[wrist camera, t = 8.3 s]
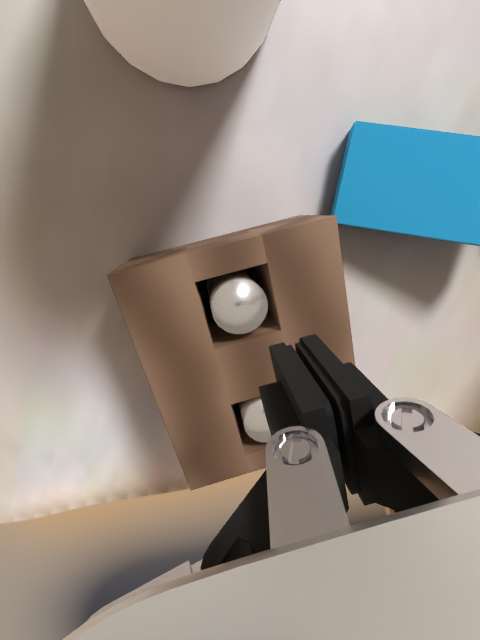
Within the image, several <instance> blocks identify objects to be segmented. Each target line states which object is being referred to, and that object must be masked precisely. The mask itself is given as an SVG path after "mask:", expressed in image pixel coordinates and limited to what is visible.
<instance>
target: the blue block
mask: <svg viewBox="0 0 480 640" xmlns="http://www.w3.org/2000/svg"><path fill="white" fill-rule="evenodd" d="M331 215H336V216H337V224H339V225H346V226H352V227H359V228H365V229H372V230H378V231H385V232H391V233H398V234H404V235H411V236H418V237H424V238H431V239H437V240H444V241H450V242H457V243H463V244H470V245H476V246H480V136H472V135H464V134H456V133H448V132H440V131H432V130H424V129H416V128H408V127H400V126H392V125H384V124H376V123H368V122H360V121H356V122H355V123H354V125H353V126H352V128H351V129H350V131H349V134H348V139H347V143H346V148H345V152H344V157H343V161H342V166H341V170H340V175H339V179H338V184H337V188H336V193H335V197H334V202H333V206H332V211H331Z"/></svg>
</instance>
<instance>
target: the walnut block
mask: <svg viewBox="0 0 480 640" xmlns="http://www.w3.org/2000/svg"><path fill="white" fill-rule="evenodd" d="M250 267H252V269H253V274H254V278H255V282H256V283H257V284H258V285H259V286H260V288H261V289H262V290H263V291H264V293H265V295H266V298H267V302H268V310H267V314H266V317H265V319H264V320H263V322H262V323H261V324H260V325H259V326H258V327H257V328H256V329H254V330H253V331H251V332H248V333H245V334H232V333H229V332H226V331H225V330H223V329H222V328H220V327H219V326H218V325H217V323H216V322H215V320H214V318H213V316H211V317H209V316H208V312H207V309H206V305H205V302H204V298H203V295H202V291H201V288H200V284H199V281H201V280H205V279H209V278H213V277H216V276H220V275H224V274H228V273H231V272H235V271H239V270H243V269H246V268H250ZM107 276H108V279H109V282H110V284H111V287H112V289H113V292H114V294H115V297H116V300H117V302H118V305H119V307H120V310H121V312H122V315H123V317H124V320H125V323H126V325H127V328H128V330H129V333H130V335H131V338H132V341H133V343H134V346H135V348H136V351H137V353H138V356H139V359H140V361H141V364H142V366H143V369H144V371H145V374H146V377H147V379H148V382H149V384H150V387H151V389H152V392H153V394H154V397H155V400H156V402H157V405H158V407H159V410H160V412H161V415H162V418H163V420H164V423H165V425H166V428H167V430H168V433H169V436H170V438H171V441H172V443H173V446H174V448H175V451H176V453H177V456H178V459H179V461H180V464H181V466H182V469H183V471H184V474H185V477H186V479H187V482H188V484H189V487H190V489H191V490H194V489H197V488H200V487H204V486H207V485H210V484H213V483H217V482H220V481H223V480H226V479H230V478H233V477H236V476H240V475H243V474H246V473H249V472H253V471H256V470H259V469H262V468H266V454H265V450H266V444H267V442H258V441H255V440H253V439H252V438H251V437H249V436H248V434H247V433H246V431H245V428H244V424H243V419H242V415H241V411H240V407H239V403H238V402H242V401H245V400H249V399H252V398H256V397H259V396H260V393H259V388H258V387H259V386H263V385H266V384H270V383H274V382H276V377H275V373H274V369H273V364H272V360H271V356H270V351H269V346H271V345H275V344H279V343H282V342H284V343H285V344H286V346H287V345H292V347H293V348H294V350H295V351H296V349H295V343H298V342H299V339H300V338H301V337H305V336H309V335H312V334H316V335H317V336H318V337H319V338H320V339H321V340H322V341H323V342H324V344H325V345H326V346H327V347H328V348H329V349H330V350H331V351H332V352H333V353H334V354H335V355H336V356H337V358H338V359H339V360H340V361H341V362H342V363H343V364H344V363H348V362H351V363H352V364H354V365H355V360H354V352H353V344H352V336H351V328H350V320H349V312H348V304H347V296H346V288H345V280H344V272H343V264H342V256H341V248H340V240H339V232H338V224H337V216H336V215H299V216H295V217H291V218H288V219H284V220H280V221H276V222H272V223H268V224H264V225H261V226H257V227H253V228H249V229H245V230H241V231H237V232H234V233H230V234H226V235H222V236H218V237H214V238H210V239H207V240H203V241H199V242H195V243H191V244H187V245H183V246H180V247H176V248H172V249H168V250H164V251H160V252H156V253H152V254H149V255H145V256H141V257H137V258H133V259H130V260H128V261H127V262H125V263H124V264H122V265H121V266H120V267H118V268H117V269H115V270H114V271H113V272H111V273H110V274H108V275H107Z"/></svg>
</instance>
